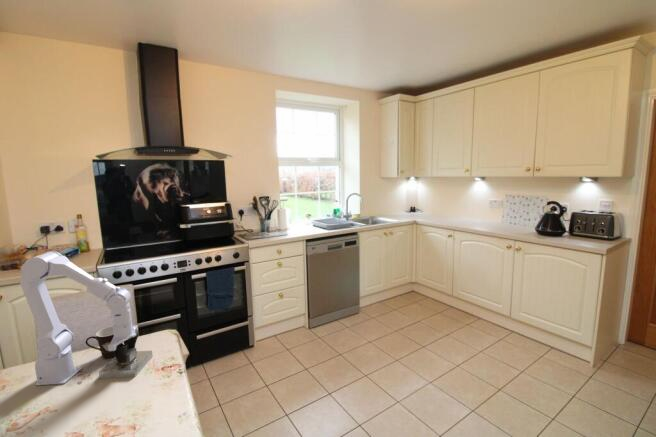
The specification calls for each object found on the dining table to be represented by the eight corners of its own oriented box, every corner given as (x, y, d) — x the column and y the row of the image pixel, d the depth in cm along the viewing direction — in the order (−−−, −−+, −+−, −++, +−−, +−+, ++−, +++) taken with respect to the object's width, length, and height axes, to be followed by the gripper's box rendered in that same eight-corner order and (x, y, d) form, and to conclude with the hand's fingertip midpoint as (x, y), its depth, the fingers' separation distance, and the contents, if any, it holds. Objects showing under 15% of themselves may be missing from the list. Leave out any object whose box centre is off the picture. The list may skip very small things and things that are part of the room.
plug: (117, 371, 110) (116, 355, 109) (125, 363, 114) (123, 348, 114) (130, 370, 110) (129, 354, 109) (137, 363, 115) (136, 347, 114)
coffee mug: (130, 348, 124) (128, 325, 123) (114, 361, 116) (111, 336, 114) (104, 347, 125) (101, 324, 124) (86, 360, 117) (82, 335, 115)
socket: (99, 378, 106) (98, 370, 106) (120, 358, 118) (119, 350, 117) (135, 376, 107) (134, 368, 106) (152, 356, 119) (151, 349, 118)
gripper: (121, 332, 103) (126, 370, 105) (144, 313, 117) (148, 346, 119) (99, 333, 103) (104, 371, 104) (125, 314, 117) (129, 347, 119)
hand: (126, 358), depth 112 cm, fingers closed on plug, 4 cm apart
